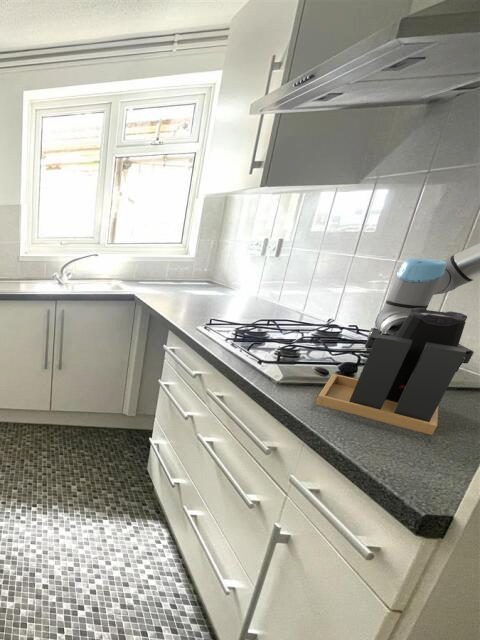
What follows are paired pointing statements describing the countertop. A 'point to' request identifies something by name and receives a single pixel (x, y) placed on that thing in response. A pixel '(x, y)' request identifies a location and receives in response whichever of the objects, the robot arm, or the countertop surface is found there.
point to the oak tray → (339, 396)
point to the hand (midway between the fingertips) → (424, 359)
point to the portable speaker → (425, 340)
